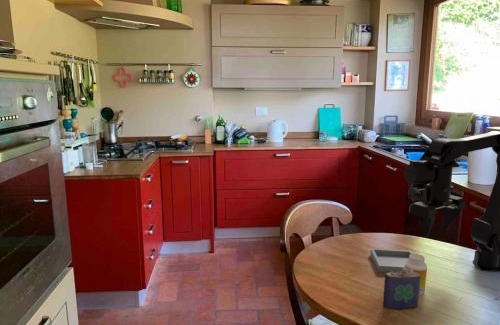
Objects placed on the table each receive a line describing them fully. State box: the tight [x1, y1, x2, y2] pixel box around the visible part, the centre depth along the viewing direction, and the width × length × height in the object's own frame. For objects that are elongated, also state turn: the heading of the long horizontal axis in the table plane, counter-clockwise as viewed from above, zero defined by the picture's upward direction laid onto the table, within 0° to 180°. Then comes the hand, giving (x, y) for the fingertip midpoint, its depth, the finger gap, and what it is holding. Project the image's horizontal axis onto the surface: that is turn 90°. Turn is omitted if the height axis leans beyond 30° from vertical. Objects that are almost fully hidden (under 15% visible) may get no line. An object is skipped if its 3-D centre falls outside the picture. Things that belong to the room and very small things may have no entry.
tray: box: [370, 248, 414, 275], centre depth 122 cm, size 13×13×2 cm
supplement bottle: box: [405, 253, 428, 296], centre depth 106 cm, size 6×6×10 cm
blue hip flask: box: [382, 267, 421, 311], centre depth 98 cm, size 9×3×11 cm, turn 95°
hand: (435, 232), depth 116 cm, fingers open, 9 cm apart
